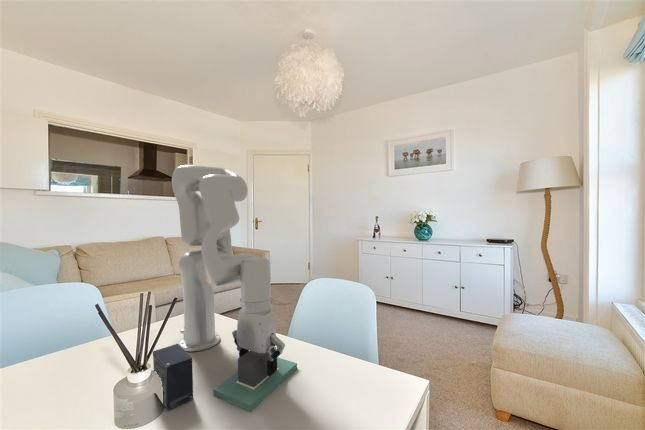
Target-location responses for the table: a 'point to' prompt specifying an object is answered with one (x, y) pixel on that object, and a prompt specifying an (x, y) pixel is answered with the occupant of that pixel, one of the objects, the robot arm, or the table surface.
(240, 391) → the board
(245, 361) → the block
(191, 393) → the small box
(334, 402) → the table surface
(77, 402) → the table surface
